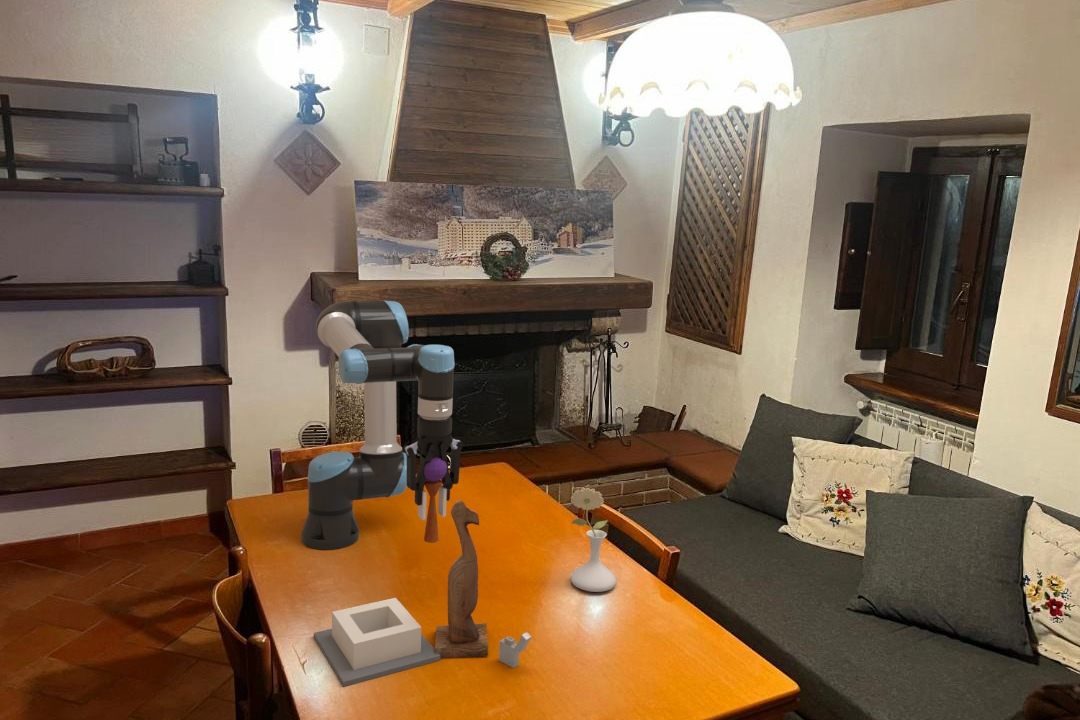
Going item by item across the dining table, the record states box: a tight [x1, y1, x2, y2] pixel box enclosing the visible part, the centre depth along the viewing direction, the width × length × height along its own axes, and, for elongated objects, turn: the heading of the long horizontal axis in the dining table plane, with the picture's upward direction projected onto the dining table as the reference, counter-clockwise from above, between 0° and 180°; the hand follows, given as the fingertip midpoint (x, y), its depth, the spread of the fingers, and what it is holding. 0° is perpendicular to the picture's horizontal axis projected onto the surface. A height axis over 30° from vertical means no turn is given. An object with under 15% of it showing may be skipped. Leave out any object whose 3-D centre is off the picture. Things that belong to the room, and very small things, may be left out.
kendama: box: [421, 457, 447, 544], centre depth 176 cm, size 6×6×20 cm
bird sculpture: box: [434, 500, 489, 660], centre depth 163 cm, size 11×12×32 cm
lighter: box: [498, 632, 532, 669], centre depth 159 cm, size 7×2×8 cm, turn 50°
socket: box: [313, 597, 441, 688], centre depth 162 cm, size 20×20×6 cm
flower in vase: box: [570, 487, 617, 593], centre depth 194 cm, size 13×11×25 cm
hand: (431, 515), depth 177 cm, fingers closed on kendama, 4 cm apart
